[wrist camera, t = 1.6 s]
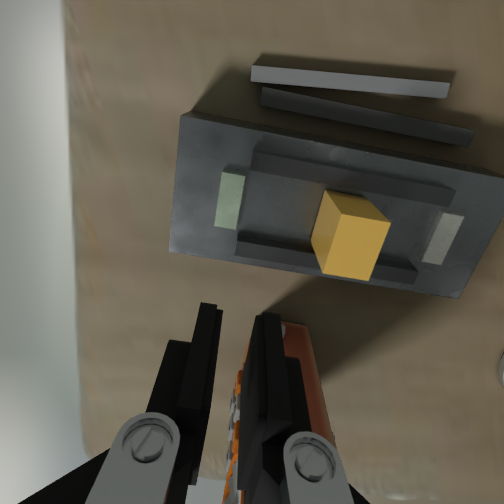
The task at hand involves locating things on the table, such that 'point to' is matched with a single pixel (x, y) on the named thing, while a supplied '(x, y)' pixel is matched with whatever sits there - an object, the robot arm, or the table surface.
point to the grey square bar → (349, 82)
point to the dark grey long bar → (365, 117)
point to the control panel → (301, 348)
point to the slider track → (310, 197)
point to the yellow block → (348, 235)
